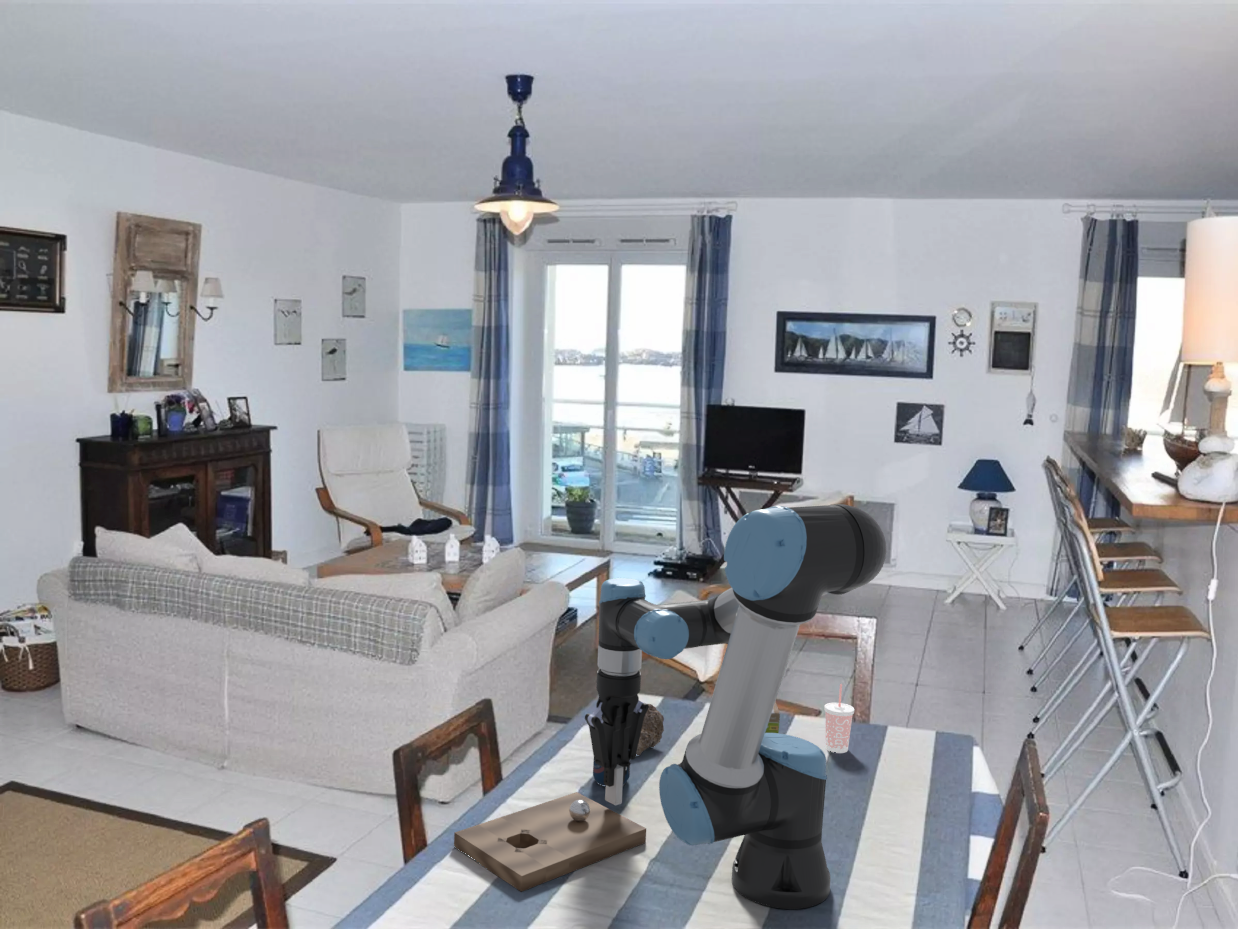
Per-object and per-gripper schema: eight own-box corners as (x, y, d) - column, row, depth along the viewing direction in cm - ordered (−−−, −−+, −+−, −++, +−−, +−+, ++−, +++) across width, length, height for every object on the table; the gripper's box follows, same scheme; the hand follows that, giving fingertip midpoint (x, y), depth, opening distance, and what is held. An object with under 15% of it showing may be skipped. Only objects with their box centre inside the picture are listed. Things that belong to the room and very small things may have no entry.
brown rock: (623, 764, 214) (608, 715, 215) (602, 764, 222) (588, 716, 223) (679, 741, 221) (665, 694, 222) (657, 742, 229) (643, 696, 230)
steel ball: (594, 821, 182) (594, 801, 182) (578, 827, 180) (578, 807, 179) (580, 814, 185) (581, 794, 184) (564, 819, 182) (565, 799, 182)
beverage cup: (820, 752, 224) (824, 686, 222) (823, 741, 230) (827, 677, 228) (850, 756, 222) (854, 690, 221) (852, 746, 228) (857, 681, 226)
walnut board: (645, 842, 181) (646, 828, 180) (521, 891, 163) (521, 876, 163) (576, 805, 194) (576, 792, 193) (453, 847, 176) (454, 832, 176)
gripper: (632, 657, 192) (626, 785, 194) (575, 670, 183) (570, 804, 186) (661, 668, 186) (655, 799, 189) (604, 682, 177) (599, 819, 180)
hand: (613, 801), depth 187 cm, fingers closed
